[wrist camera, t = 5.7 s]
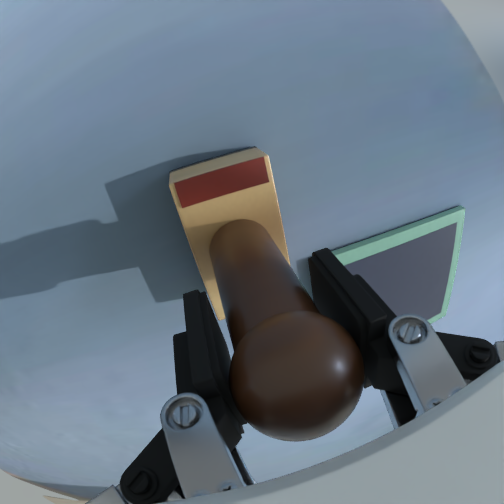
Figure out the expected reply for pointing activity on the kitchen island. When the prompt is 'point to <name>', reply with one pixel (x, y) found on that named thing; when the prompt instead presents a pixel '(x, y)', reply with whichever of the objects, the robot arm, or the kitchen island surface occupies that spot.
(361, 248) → the ink pad
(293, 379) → the stamp
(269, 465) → the kitchen island surface
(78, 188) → the kitchen island surface
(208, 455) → the robot arm
